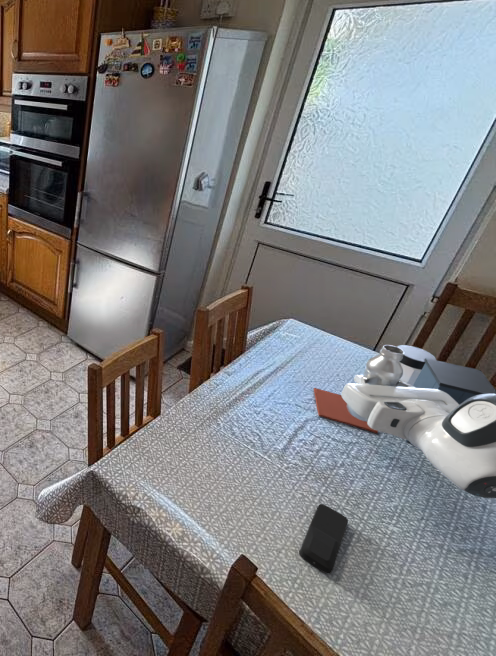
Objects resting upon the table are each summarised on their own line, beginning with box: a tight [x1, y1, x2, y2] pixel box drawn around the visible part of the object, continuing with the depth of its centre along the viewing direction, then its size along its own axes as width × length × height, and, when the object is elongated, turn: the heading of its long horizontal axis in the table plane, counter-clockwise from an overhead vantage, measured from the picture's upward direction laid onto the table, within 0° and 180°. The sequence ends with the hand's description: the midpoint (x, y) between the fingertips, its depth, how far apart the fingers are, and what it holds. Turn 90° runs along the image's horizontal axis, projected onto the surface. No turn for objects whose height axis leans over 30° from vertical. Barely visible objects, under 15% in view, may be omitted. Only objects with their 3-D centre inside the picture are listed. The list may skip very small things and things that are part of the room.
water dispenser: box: [405, 358, 496, 444], centre depth 99 cm, size 10×11×19 cm
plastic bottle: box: [347, 344, 404, 422], centre depth 98 cm, size 6×7×20 cm
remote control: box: [298, 503, 349, 575], centre depth 80 cm, size 5×2×15 cm
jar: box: [396, 344, 437, 386], centre depth 116 cm, size 9×8×12 cm
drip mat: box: [313, 387, 379, 434], centre depth 111 cm, size 12×12×1 cm
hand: (374, 378), depth 98 cm, fingers closed on plastic bottle, 6 cm apart
